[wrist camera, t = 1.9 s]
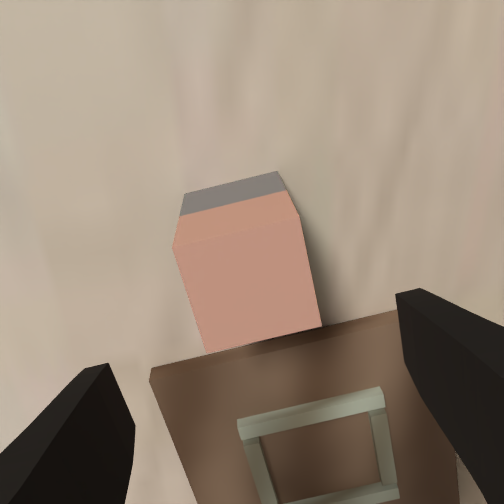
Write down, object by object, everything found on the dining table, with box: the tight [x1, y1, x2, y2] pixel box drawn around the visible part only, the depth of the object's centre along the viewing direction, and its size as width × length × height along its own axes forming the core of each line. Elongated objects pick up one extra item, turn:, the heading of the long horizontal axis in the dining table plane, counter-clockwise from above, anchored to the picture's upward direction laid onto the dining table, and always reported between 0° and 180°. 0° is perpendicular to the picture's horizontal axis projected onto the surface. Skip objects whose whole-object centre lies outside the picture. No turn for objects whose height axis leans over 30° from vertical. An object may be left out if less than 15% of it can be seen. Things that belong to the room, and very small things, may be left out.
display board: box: [149, 310, 460, 504], centre depth 25 cm, size 14×14×2 cm
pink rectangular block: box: [172, 171, 322, 353], centre depth 18 cm, size 4×4×6 cm
